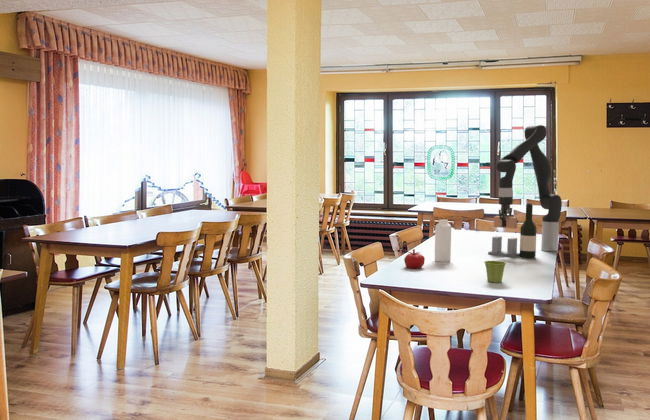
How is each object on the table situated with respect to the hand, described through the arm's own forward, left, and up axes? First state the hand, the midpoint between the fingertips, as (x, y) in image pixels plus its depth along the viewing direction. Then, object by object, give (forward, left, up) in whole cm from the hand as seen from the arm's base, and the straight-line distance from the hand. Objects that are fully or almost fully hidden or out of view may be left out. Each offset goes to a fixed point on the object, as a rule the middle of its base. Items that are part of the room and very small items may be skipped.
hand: (505, 226), depth 353 cm
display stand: (-1, 0, -16) cm, 16 cm away
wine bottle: (-1, +13, -17) cm, 21 cm away
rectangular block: (0, 0, -1) cm, 1 cm away
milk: (+39, -17, -17) cm, 46 cm away
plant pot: (+72, +27, -17) cm, 79 cm away
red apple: (+66, -18, -17) cm, 71 cm away
